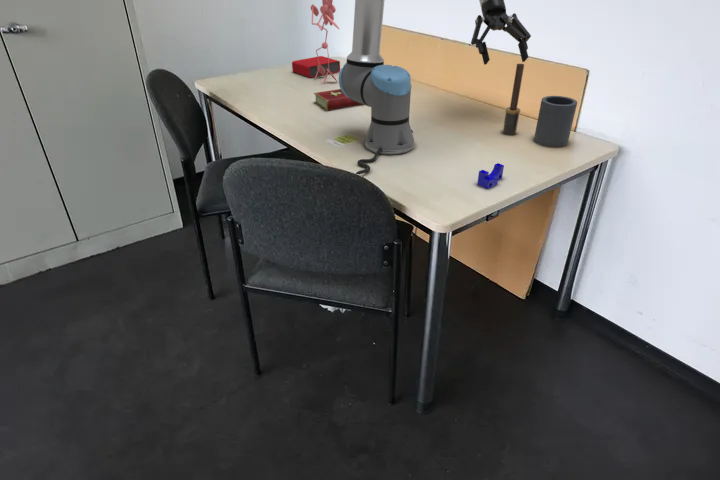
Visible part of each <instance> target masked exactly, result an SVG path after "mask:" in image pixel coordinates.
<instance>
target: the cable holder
mask: <svg viewBox="0 0 720 480" xmlns="http://www.w3.org/2000/svg"><path fill="white" fill-rule="evenodd" d="M504 169H505V165H504V164H501V163H499V162H497V163H495V164H494V166H493V168H492V170H491V172H490V173H489V171H488V170H485V169H481V170H479V171H478V175H477V182H476V183H477V184H476V185H477V186H479V187H481V188H484V189H486V190H489V189H491V188H493V187H495V186H497V185H498V182H499V181H500V180H502V179H503V175H504V174H503V173H504Z"/></svg>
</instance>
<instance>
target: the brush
mask: <svg viewBox="0 0 720 480" xmlns="http://www.w3.org/2000/svg"><path fill="white" fill-rule="evenodd" d="M524 69H525V64H524V63H516V66H515V74H514V80H513V85H512V92H511V99H510V106H509V107H506V109H505V116H504V121H503V128H502V133H503V134H504V135H507V136H514V135H516V134H517V130H518V129H517V128H518V123H519V118H520V113H521V109H520V108H519V107H518V104H519V98H520V94H521V93H520V92H521V87H522V81H523V74H524Z"/></svg>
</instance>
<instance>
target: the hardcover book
mask: <svg viewBox="0 0 720 480" xmlns="http://www.w3.org/2000/svg"><path fill="white" fill-rule="evenodd" d="M313 95H314V96H315V101H314V104H316V105H317V106H319V107H320V108H321V109H323V110H324V111H325V112H330V111H335V110H340V109H348V108H353V107H358V106H359V107H360V106H365V105H364V104H361V103H359V102H356V101H353V100H351V99H350V98H348V97H347V96H345V95H344V93H343V92H342V91H341V89H340V88H336V89H331V90H324V91H318V92H317V91H316V92H313Z"/></svg>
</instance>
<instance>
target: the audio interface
mask: <svg viewBox="0 0 720 480" xmlns="http://www.w3.org/2000/svg"><path fill="white" fill-rule="evenodd" d="M318 58H319V62H318ZM318 58H317V56H313V57H308V58H303V59H297V60H292V61H291V69H292V72H293V73H295V74H299V75H302V76H304V77H307V78H315V77H316V74H317V71H318V69H317V65H319V63H320V65H321V66H322V67H323V68H324V70H325V74H324V76H326V74H327V69H328V56H327V57H326V56H324V55H318ZM329 70H330V72H331V73H332V74H334V73H340V70H341V61H340V60H337V59H333V58H330V57H329ZM328 75H330V73H329V72H328ZM320 76H323V75H322V74H321V73H320V72H318V74H317V77H320ZM317 77H316V78H317Z"/></svg>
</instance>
